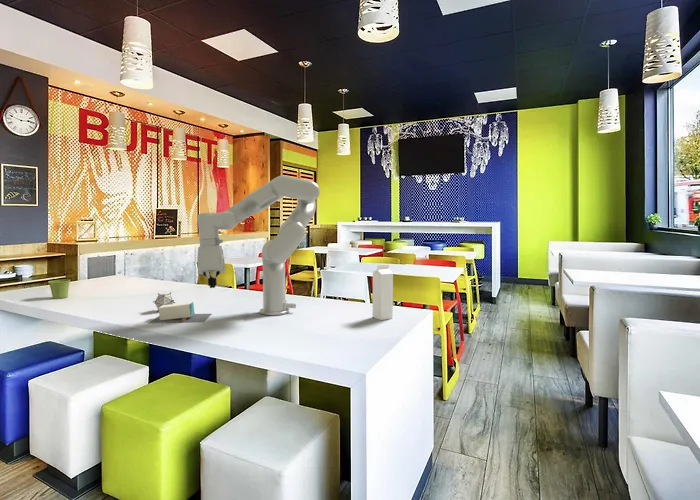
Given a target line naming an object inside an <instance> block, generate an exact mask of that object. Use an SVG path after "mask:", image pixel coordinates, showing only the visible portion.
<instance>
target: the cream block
mask: <svg viewBox="0 0 700 500" xmlns="http://www.w3.org/2000/svg"><path fill="white" fill-rule="evenodd" d="M158 309H159V312H158V316H160V320H168V319H177V318H186V317H192V316H193V315H194V314H196V313H195V306H194V302H193V301H190V302H181V303H173V304H170V305H162V306H161V307H159V308H157V310H158Z"/></svg>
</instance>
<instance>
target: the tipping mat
mask: <svg viewBox="0 0 700 500" xmlns="http://www.w3.org/2000/svg"><path fill="white" fill-rule="evenodd" d="M211 315H213V313H195V314H194V315H193V316H192V317H186V318H177V319H168V320H160V316H159V315H158V316H157V317H155V318H154V319H152V320H151V321H148V323H147V324H150V325H151V324H183V323H185V324H186V323H187V324H188V323H190V324H191V323H205V322H206V321H207V320H208V319H209V318H210V317H211Z"/></svg>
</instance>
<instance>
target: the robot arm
mask: <svg viewBox="0 0 700 500" xmlns="http://www.w3.org/2000/svg"><path fill="white" fill-rule="evenodd" d="M320 193H321V190H320V186H319V185H318V184H317V183H316V182H314V181H312V180H309V179H303V178H297V177H293V176H289V175H278V176H276V177H274V178H273V179H271V180H270V181H268V182H267V183H265V184H263V185H262V186H260V187H259V188H258V189H255V190H254V191H253V192H251V193H249V194H248V195H246V196H245V197H244V198H243V199H242V200H240V201H238V202H236V203H235V204H234V205H232V206H231V207H229V208H227V209H226V210H224V211H222V212H200V213H199V214H198V215H197V226H198V238H199V246H197V247H198V248H197V256H196V257H197V258H196V259H197V261H196V262H197V263H196V264H197V269H198V270H197V274H198V275H203V276H204V277H205V278H206V279H207V282H208V283H207V284H208V287H209V289H212V288H213V289H214V288H216V286H217V277H219V275H220V274H223V273H225V272H226V268H225V267H226V264H225V256H224V250H223V247H222V245H220V244H223V243H224V241H223V239H220V236H219V235H220V233H219V230H225V231H231V230H233V229H235V228H236V226H237V225H238V224H240V223H241V222H243V221H245V220H247V218H250V217H251V216H253V215H257V214H259V213H261V212H262V211H264V210H265V209H268V208H269V207H271V206H272V205H274V204H275V203H276V202H277V201H279V200H281V199H283V198H284V197H286V198H290V199H291V198H292V199H294V200H295V199H296V200H297V204H296V206H295V208H294V209H293V211H292V212H291V213H290V214H289V216H288V217H287V218H286V219H285V220H284V221H283V222H282V224H280V226H279V229H278V233H277V234H276V236H275V237H274V238H273V239H269V240H267V241H266V242H265V243H264V244H263V246H262V248H261V260H262V301H263V302H262V303H263V305H262V308H260V309H259V313H260V314H261V315H264V316H282V315H286V314H289V312H290V309H296V307H297V304H296V303H292V302H291V303H289V302H287V300H286V261H287V260H288V259H289V258H290V256H292V254H293V253H294V251H296V250H297V248H298V247H299V245H300V244H301V243H302V241H303V240H304V238H305V234H306V230H305V228H306V227H307V226H308V225H309V223H310V222H311V221H312V219H313V218H314V216H315V213H316V208H317V201H316V200H317V199H318V198H319V196H320ZM211 272H212V273H211Z"/></svg>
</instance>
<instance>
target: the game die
mask: <svg viewBox="0 0 700 500" xmlns="http://www.w3.org/2000/svg"><path fill="white" fill-rule="evenodd" d="M171 294H172V292H169V293H161V294H160V293H159V292H158V293H157V296H156V299H155V300H153V301H152V303H154V305H155V306H156V308H157V312H158V313H159V309H158V308H159V307H161V306H162V305H170V304H176V302H175V300H174V299H173V298H172V295H171Z"/></svg>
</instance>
